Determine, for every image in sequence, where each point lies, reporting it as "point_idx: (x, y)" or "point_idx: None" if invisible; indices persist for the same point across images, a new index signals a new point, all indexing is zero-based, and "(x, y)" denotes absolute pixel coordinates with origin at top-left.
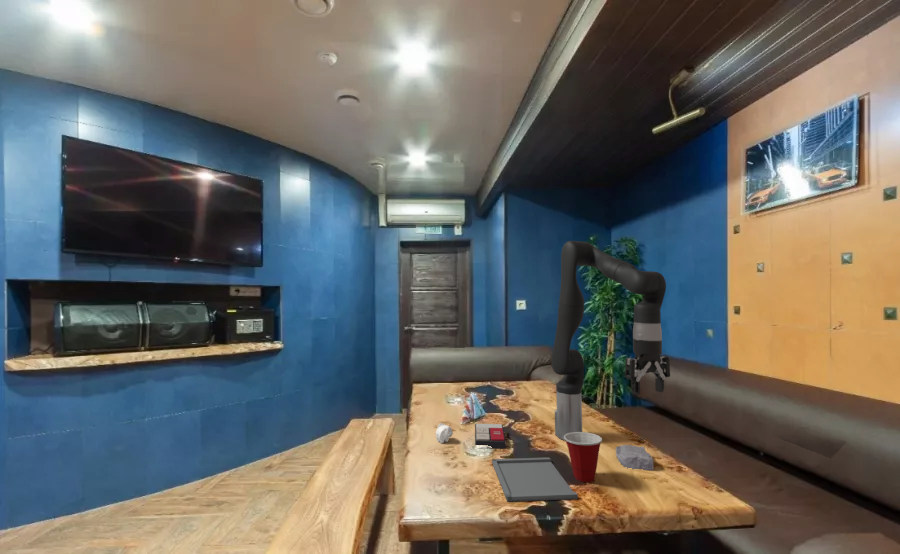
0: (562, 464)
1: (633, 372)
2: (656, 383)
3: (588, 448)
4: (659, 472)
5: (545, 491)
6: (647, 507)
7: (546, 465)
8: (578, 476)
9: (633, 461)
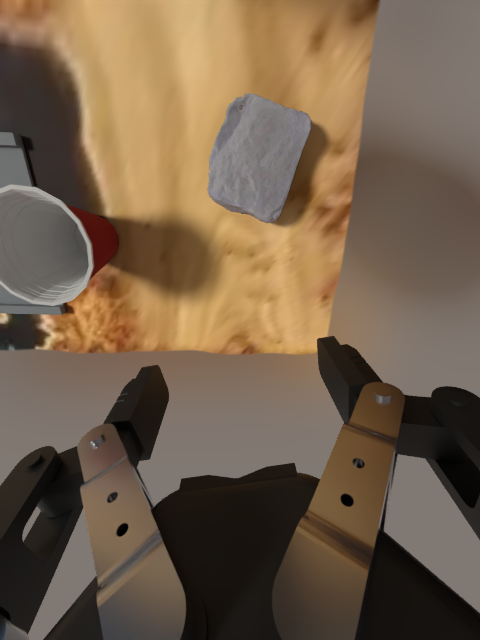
0: (56, 161)
1: (48, 559)
2: (333, 370)
3: (51, 294)
4: (279, 232)
5: (5, 289)
6: (176, 342)
7: (8, 170)
8: (75, 253)
9: (232, 206)
